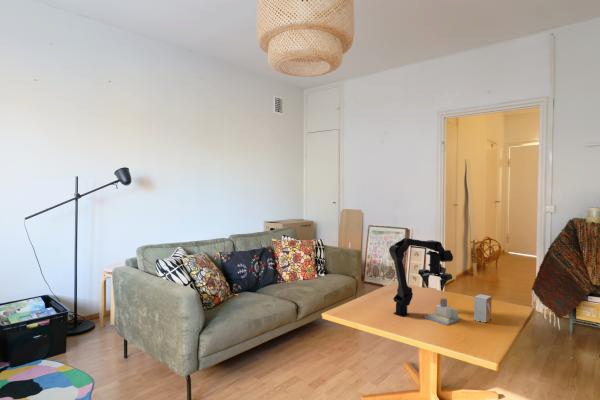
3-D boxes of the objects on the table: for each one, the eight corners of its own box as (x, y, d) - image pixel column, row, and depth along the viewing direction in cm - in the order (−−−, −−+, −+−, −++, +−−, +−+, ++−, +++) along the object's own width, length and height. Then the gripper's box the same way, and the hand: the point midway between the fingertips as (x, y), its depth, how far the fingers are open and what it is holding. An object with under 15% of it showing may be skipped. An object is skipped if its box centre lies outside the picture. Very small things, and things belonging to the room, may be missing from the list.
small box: (486, 323, 188) (486, 299, 187) (473, 320, 192) (474, 296, 192) (491, 319, 193) (491, 296, 193) (479, 316, 198) (479, 293, 198)
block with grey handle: (446, 319, 191) (446, 301, 191) (435, 316, 196) (436, 298, 196) (451, 317, 194) (451, 299, 194) (441, 314, 199) (441, 296, 199)
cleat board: (447, 325, 184) (447, 314, 184) (423, 317, 196) (423, 308, 195) (461, 319, 193) (461, 309, 193) (438, 312, 204) (438, 303, 204)
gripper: (457, 263, 204) (457, 290, 204) (428, 258, 219) (428, 283, 219) (446, 265, 197) (446, 293, 197) (417, 260, 212) (417, 286, 212)
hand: (434, 289), depth 207 cm, fingers open, 9 cm apart
